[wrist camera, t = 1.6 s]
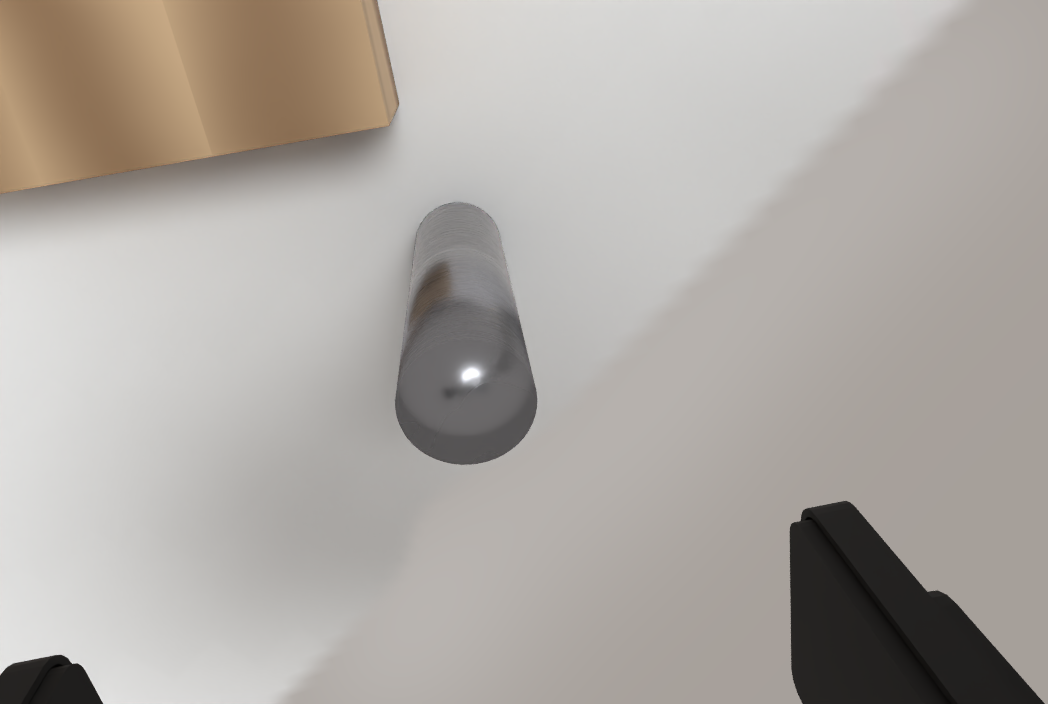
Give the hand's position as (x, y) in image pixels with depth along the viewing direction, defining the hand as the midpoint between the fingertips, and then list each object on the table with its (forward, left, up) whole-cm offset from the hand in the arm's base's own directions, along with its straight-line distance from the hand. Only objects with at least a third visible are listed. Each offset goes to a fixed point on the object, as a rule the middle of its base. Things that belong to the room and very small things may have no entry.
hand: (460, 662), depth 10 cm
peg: (0, 0, -19) cm, 19 cm away
